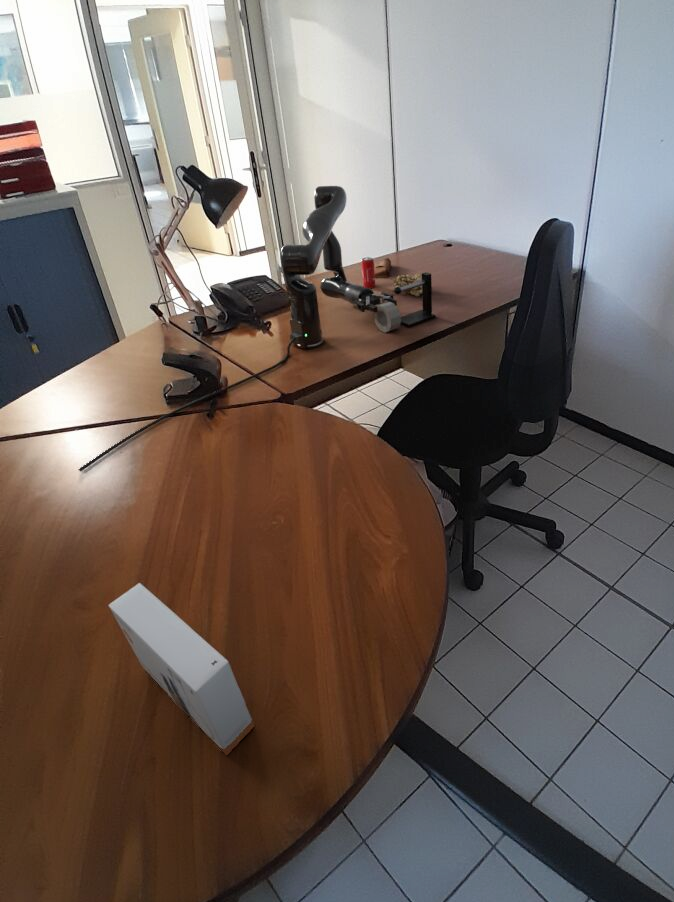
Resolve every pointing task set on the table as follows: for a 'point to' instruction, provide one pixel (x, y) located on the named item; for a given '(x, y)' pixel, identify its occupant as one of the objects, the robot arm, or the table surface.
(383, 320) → the tape roll
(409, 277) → the mineral formation
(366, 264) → the beverage can
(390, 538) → the table surface
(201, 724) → the skincare box
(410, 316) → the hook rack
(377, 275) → the sunglasses case
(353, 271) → the table surface
